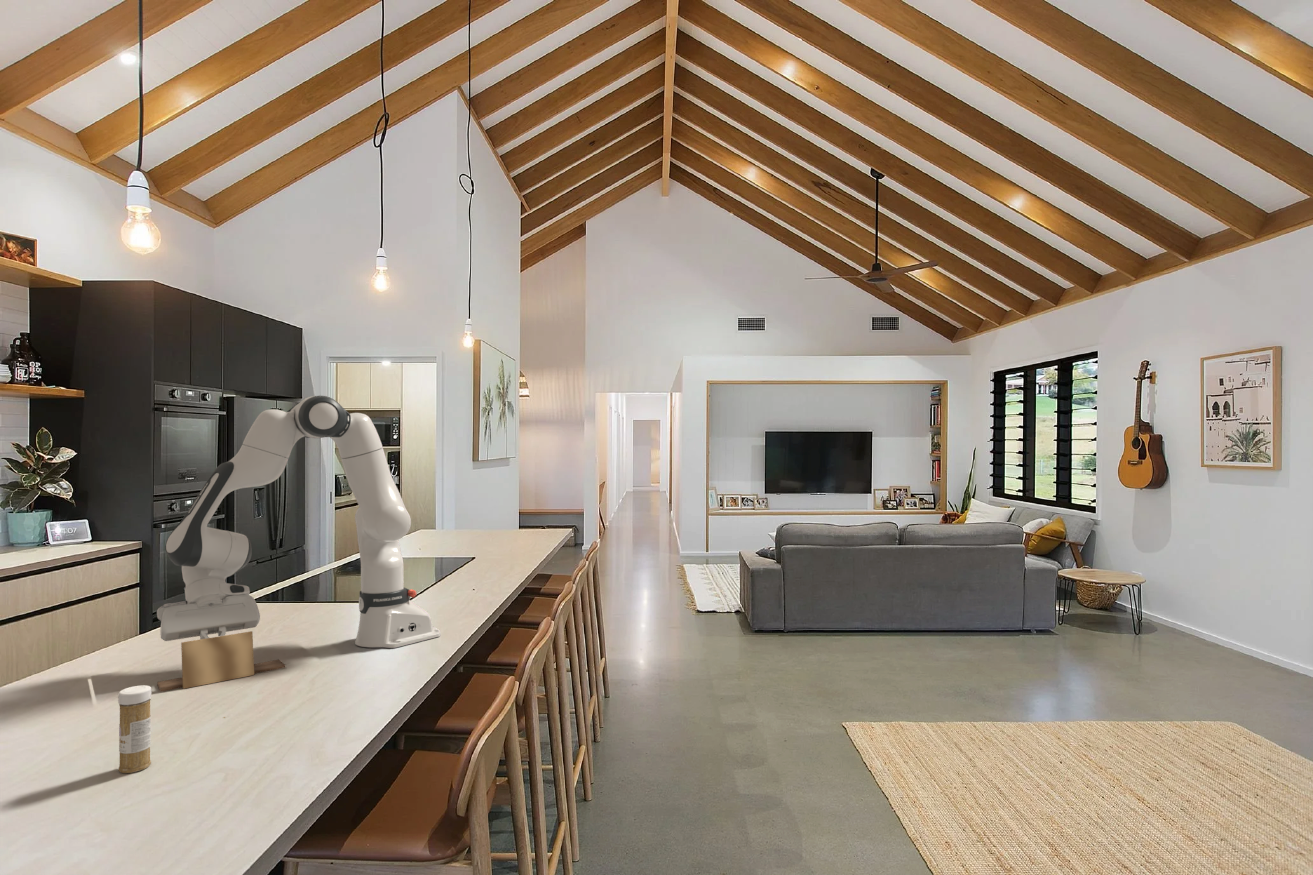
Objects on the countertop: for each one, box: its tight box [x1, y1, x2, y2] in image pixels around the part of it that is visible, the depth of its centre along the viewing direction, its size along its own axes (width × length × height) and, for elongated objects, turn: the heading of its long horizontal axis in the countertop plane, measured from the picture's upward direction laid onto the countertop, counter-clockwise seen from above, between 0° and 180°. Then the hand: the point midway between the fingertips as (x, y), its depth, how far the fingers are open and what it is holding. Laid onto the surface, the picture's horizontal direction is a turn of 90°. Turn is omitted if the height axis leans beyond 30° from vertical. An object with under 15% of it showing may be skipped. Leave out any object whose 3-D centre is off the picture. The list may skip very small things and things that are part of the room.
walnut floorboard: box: [156, 659, 286, 693], centre depth 169 cm, size 25×6×1 cm, turn 131°
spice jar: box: [117, 684, 152, 774], centre depth 122 cm, size 5×5×14 cm
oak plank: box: [180, 631, 255, 690], centre depth 165 cm, size 14×10×1 cm
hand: (215, 647), depth 168 cm, fingers closed
